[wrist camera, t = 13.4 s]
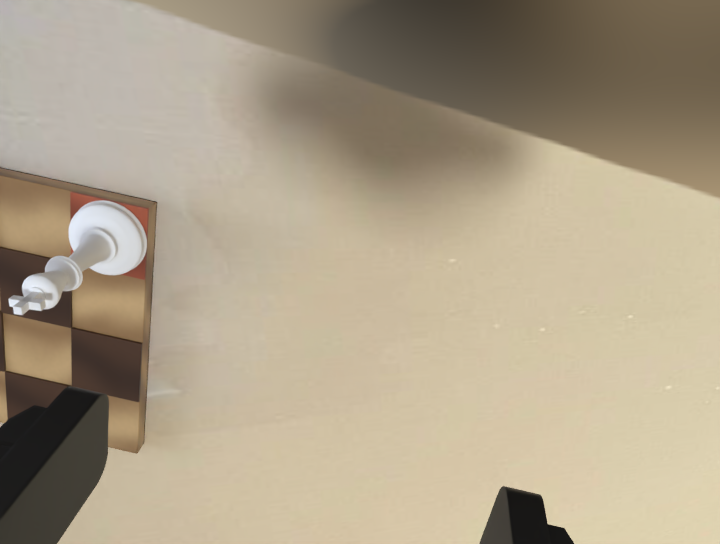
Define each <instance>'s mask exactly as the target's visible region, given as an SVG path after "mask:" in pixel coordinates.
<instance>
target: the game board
mask: <svg viewBox="0 0 720 544" xmlns="http://www.w3.org/2000/svg"><path fill="white" fill-rule="evenodd" d="M99 200H104V201H111V202H114V203H117V204H119V205H122V206H123V207H125V208H127V209H128V210H129V211H131V212H132V213H133V214H134V215H135V216H136V217H137V219H138V220H139V221H140V223H141V225H142V226H143V228H144V231H145V234H146V238H147V250H146V254H145V256H144V258H143V260H142V261H141V263H140V264H139V265H138V266H137V267H135V268H134V269H132V270H130V271H129V272H127V273H124V274H121V275H105V274H101V273H98V272H96V271H94V270H92V269H90V268H88V269H86V270H84V271H82V274H83V280H82V283H81V285H80V286H79V287H78V288H77V289H75V290H71V291H62V294H61V298H60V300H59V302H58V303H57V304H56V305H55V306H54V307H53V308H50V309H43V310H42V311H38V310H30V309H29V310H28V311H27V312H26V313H24V314H23V315H17V314H14V311H13V307H10V306H9V300H8V299H9V298H10V297H12V296H13V295H16V296H23V297H24V295H23V293H22V284H23V282H24V280H25V279H26V278H27V277H29V276H31V275H34V274H38V273H45V266H46V264H47V262H48V261H49V260H50V259H51V258H53V257H55V256H65V257H68V258H69V257H70V255H71V254H72V253H73V252H74V251H73V249H72V247H71V245H70V241H69V235H68V231H69V225H70V222H71V219H72V218H73V216H74V215H75V214H76V213H77V212H78V210H79V209H80V208H81V207H83V206H84V205H86V204H87V203H90V202H93V201H99ZM155 222H156V202H153V201H148V200H144V199H139V198H135V197H130V196H126V195H121V194H117V193H112V192H107V191H103V190H98V189H94V188H89V187H85V186H80V185H76V184H71V183H66V182H62V181H57V180H53V179H48V178H44V177H39V176H35V175H30V174H25V173H21V172H16V171H12V170H7V169H3V168H0V422H2V423H5V422H6V421H7V420H8V419H9V418H11V417H13V416H15V415H17V414H19V413H21V412H22V411H24V410H26V409H28V408H30V407H32V406H34V405H36V406H40V407H45V408H47V407H48V406H49V405H50V404H51V403H52V402H53V401H54V399H55V398H56V397H57V396H58V395H59V394H60V393H61V392H62V391H63V390H64V389H65V388H66V387H68V386H73V387H77V388H81V389H86V390H90V391H95V392H99V393H103V394H106V395H107V396H108V399H109V423H108V447H110V448H115V449H119V450H123V451H128V452H132V453H138V452H139V450H140V448H141V447H142V445H143V444H144V426H145V408H146V389H147V371H148V352H149V333H150V315H151V296H152V277H153V259H154V240H155Z"/></svg>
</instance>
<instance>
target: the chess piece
mask: <svg viewBox="0 0 720 544" xmlns="http://www.w3.org/2000/svg"><path fill="white" fill-rule="evenodd" d="M68 235H69V241H70V245H71V247H72V249H73V251H74V252H73V253H72V254H71V255H70V257H69V258H68V257H65V256H55V257H53V258H51V259H50V260H49V261H48V262H47V264H46V266H45V273H38V274H34V275H31V276H29V277H27V278H26V279H25V280H24V282H23V284H22V293H23V295H24V297H23V296H16V295H13V296H12V297H10V298H9V299H8V300H9V306H10V307H13V311H14V314H17V315H23V314H24V313H26V312H27V311H28V310H29V309H30V310H38V311H42V310H43V309H50V308H53V307H54V306H55V305H56V304H57V303H58V302H59V300H60V298H61V294H62V291H71V290H75V289H77V288H78V287H79V286H80V285H81V283H82V280H83V274H82V271H84V270H86V269H88V268H90V269H92V270H94V271H96V272H98V273H101V274H105V275H121V274H124V273H127V272H129V271H130V270H132V269H134V268H135V267H137V266H138V265H139V264H140V263H141V261H142V260H143V258H144V256H145V254H146V250H147V238H146V234H145V231H144V228H143V226H142V225H141V223H140V221H139V220H138V219H137V217H136V216H135V215H134V214H133V213H132V212H131V211H129V210H128V209H127V208H125V207H123V206H122V205H119V204H117V203H114V202H111V201H104V200H99V201H93V202H90V203H87V204H86V205H84V206H83V207H81V208H80V209H79V210H78V212H77V213H76V214H75V215H74V216H73V218H72V219H71V222H70V225H69V231H68Z"/></svg>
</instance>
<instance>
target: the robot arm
mask: <svg viewBox="0 0 720 544" xmlns="http://www.w3.org/2000/svg"><path fill="white" fill-rule="evenodd" d="M108 423H109V399H108V396H107V395H106V394H103V393H99V392H95V391H90V390H86V389H81V388H77V387H73V386H68V387H66V388H65V389H64V390H63V391H62V392H61V393H60V394H59V395H58V396H57V397H56V398H55V399H54V401H53V402H52V403H51V404H50V405H49V406H48V407H47V408H45V407H40V406H36V405H34V406H32V407H30V408H28V409H26V410H24V411H22V412H21V413H19V414H17V415H15V416H13V417H11V418H9V419H8V420H7V421H6V422H5V423H4V424H3V425H2V426H1V427H0V544H57V543H58V541H59V540H60V538H61V537H62V535H63V534H64V532H65V531H66V529H67V528H68V526H69V525H70V523H71V522H72V521H73V519H74V518H75V516H76V515H77V513H78V512H79V510H80V509H81V507H82V506H83V504H84V503H85V501H86V500H87V498H88V497H89V495H90V494H91V492H92V491H93V489H94V488H95V486H96V485H97V483H98V482H99V480H100V478H101V475H102V473H103V470H104V467H105V464H106V460H107V455H108ZM480 544H574V543H573V541H572V540H571V538H570V536H569V535H568V533H567V532H566V530H565V529H564V528H561V527H557V526H552V525H548V524H547V519H546V514H545V508H544V503H543V499H542V497H541V495H539V494H535V493H531V492H526V491H522V490H518V489H513V488H509V487H505V486H503V487H501V489H500V490H499V493H498V495H497V498H496V500H495V503H494V506H493V508H492V511H491V514H490V517H489V519H488V522H487V525H486V527H485V530H484V533H483V535H482V538H481V541H480Z"/></svg>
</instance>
